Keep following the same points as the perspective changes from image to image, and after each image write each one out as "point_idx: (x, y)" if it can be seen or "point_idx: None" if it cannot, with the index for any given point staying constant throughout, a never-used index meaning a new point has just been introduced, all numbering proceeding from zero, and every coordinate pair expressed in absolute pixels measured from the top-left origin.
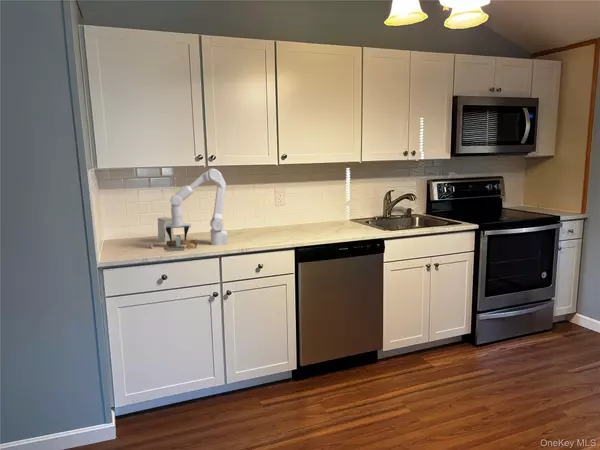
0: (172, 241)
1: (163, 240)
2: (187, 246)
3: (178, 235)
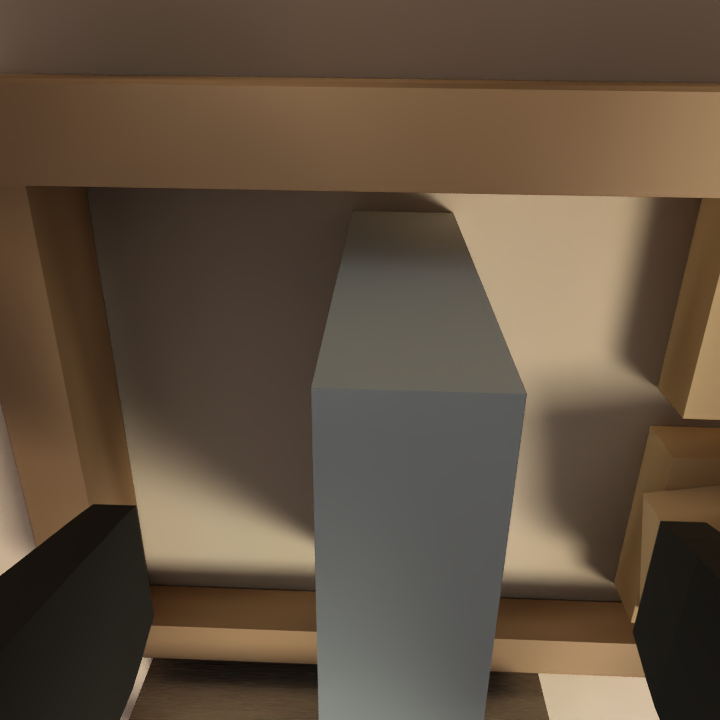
0: (128, 180)
1: None
2: (644, 512)
3: (415, 470)
